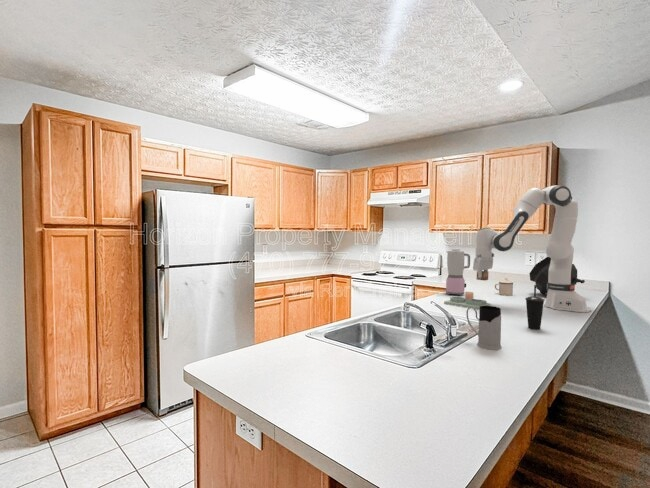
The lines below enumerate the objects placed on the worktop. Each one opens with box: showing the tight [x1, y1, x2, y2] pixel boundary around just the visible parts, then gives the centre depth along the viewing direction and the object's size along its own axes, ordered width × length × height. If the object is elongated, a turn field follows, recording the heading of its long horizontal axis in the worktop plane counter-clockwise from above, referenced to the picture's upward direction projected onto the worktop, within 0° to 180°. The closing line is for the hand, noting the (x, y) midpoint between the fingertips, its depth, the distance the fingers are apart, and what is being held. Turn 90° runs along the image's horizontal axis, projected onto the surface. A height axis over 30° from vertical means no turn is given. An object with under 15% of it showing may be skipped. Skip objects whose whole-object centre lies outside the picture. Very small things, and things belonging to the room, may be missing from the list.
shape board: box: [443, 296, 491, 311], centre depth 215 cm, size 22×14×4 cm, turn 44°
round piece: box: [464, 291, 474, 300], centre depth 231 cm, size 5×5×5 cm
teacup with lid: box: [494, 277, 514, 297], centre depth 252 cm, size 12×9×12 cm
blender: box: [445, 248, 471, 297], centre depth 249 cm, size 16×12×32 cm
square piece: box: [476, 270, 489, 281], centre depth 217 cm, size 5×5×5 cm
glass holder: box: [466, 305, 502, 351], centre depth 140 cm, size 9×14×15 cm, turn 36°
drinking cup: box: [525, 284, 546, 331], centre depth 163 cm, size 8×8×20 cm
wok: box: [528, 256, 586, 295], centre depth 243 cm, size 28×28×24 cm
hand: (482, 277), depth 217 cm, fingers closed on square piece, 5 cm apart
